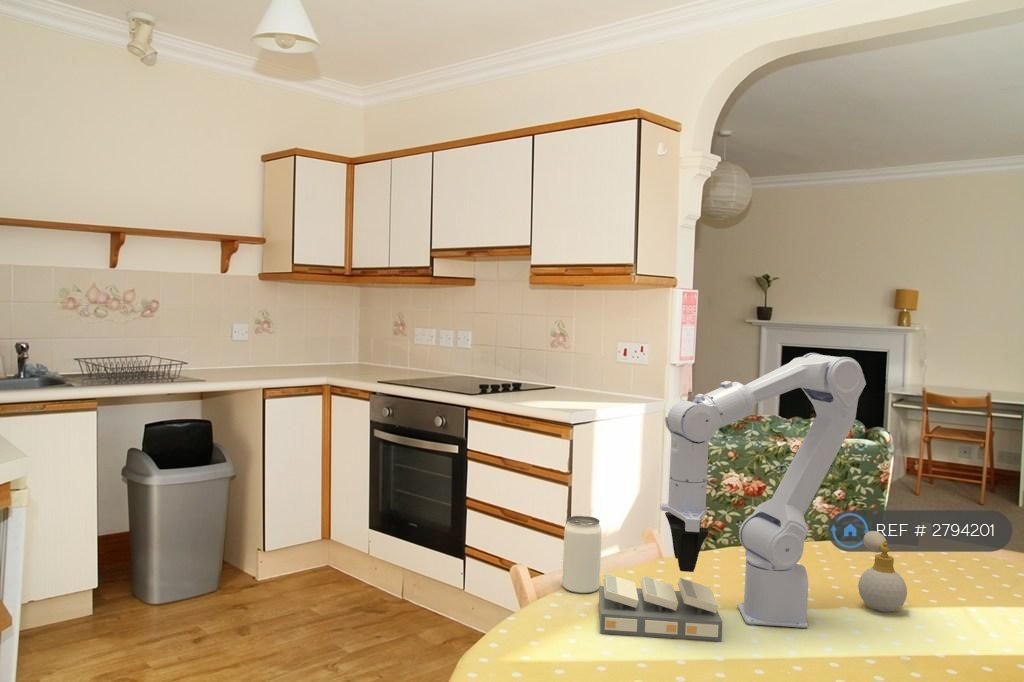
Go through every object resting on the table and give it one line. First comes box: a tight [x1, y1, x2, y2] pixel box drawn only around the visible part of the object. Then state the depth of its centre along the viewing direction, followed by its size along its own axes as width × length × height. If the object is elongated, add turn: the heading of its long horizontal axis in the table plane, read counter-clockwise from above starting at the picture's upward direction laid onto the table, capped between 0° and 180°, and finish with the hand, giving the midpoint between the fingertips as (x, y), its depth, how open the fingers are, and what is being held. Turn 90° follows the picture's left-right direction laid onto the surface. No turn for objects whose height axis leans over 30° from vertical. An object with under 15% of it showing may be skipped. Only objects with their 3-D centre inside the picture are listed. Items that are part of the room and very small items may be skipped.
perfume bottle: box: [857, 530, 908, 613], centre depth 137 cm, size 8×10×12 cm
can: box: [562, 515, 603, 595], centre depth 141 cm, size 6×6×12 cm
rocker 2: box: [677, 577, 719, 613], centre depth 127 cm, size 5×8×1 cm, turn 175°
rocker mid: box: [640, 575, 678, 610], centre depth 128 cm, size 5×8×1 cm, turn 175°
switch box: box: [598, 585, 723, 642], centre depth 128 cm, size 18×12×4 cm
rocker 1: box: [602, 573, 639, 608], centre depth 128 cm, size 5×8×1 cm, turn 175°
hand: (684, 564), depth 127 cm, fingers open, 5 cm apart
